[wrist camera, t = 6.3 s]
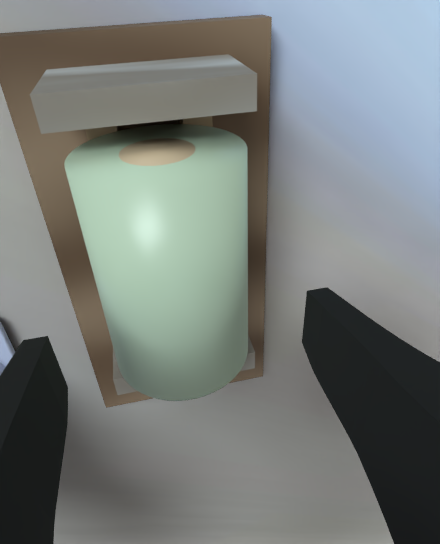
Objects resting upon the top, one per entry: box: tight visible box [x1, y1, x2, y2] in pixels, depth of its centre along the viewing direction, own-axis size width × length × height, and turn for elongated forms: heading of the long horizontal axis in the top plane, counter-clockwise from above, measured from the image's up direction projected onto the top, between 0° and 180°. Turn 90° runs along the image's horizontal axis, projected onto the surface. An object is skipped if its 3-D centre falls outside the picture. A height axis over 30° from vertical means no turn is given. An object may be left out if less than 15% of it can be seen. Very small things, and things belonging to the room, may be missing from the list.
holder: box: [0, 15, 272, 408], centre depth 18 cm, size 18×9×4 cm, turn 2°
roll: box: [64, 124, 248, 401], centre depth 14 cm, size 8×5×5 cm, turn 2°
